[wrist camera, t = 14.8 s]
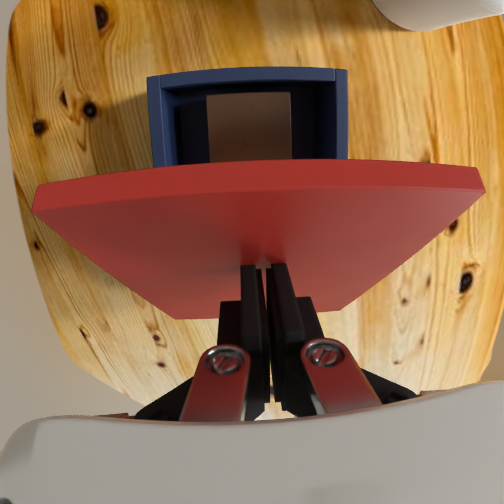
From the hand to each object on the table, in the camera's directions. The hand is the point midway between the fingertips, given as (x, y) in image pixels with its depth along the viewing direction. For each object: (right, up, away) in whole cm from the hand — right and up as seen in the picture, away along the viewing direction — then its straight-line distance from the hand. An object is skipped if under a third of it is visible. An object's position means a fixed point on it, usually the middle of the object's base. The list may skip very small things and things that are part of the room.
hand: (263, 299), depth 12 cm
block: (-1, +11, +11) cm, 16 cm away
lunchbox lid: (0, +1, +3) cm, 3 cm away
